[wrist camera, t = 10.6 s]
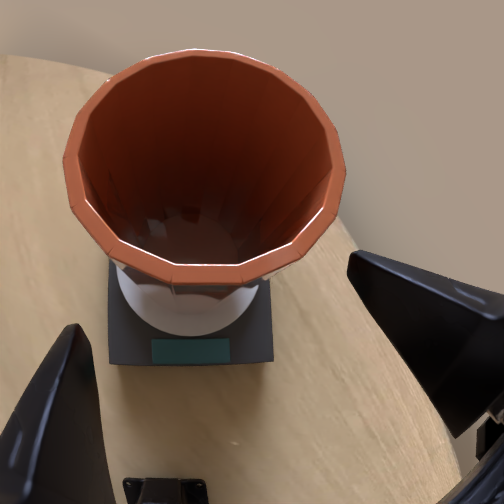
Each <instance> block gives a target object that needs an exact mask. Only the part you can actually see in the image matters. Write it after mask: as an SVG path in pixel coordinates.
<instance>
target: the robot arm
mask: <svg viewBox="0 0 504 504" xmlns="http://www.w3.org/2000/svg"><path fill="white" fill-rule="evenodd" d="M347 277H348V279H349V281H350V282H351V284H352V285H353V287H354V289H355V290H356V292H357V294H358V295H359V297H360V299H361V300H362V302H363V304H364V305H365V307H366V308H367V310H368V312H369V313H370V314H371V316H372V317H373V319H374V320H375V321H376V323H377V324H378V325H379V327H380V328H381V329H382V331H383V332H384V334H385V335H386V336H387V338H388V339H389V341H390V342H391V343H392V345H393V346H394V348H395V349H396V350H397V352H398V353H399V355H400V356H401V358H402V359H403V360H404V362H405V363H406V365H407V366H408V368H409V369H410V371H411V372H412V373H413V375H414V376H415V378H416V379H417V381H418V382H419V384H420V385H421V387H422V388H423V390H424V391H425V393H426V394H427V396H428V397H429V399H430V401H431V402H432V404H433V405H434V407H435V409H436V410H437V412H438V413H439V415H440V416H441V418H442V420H443V421H444V423H445V424H446V426H447V428H448V429H449V431H450V433H451V434H452V436H453V437H454V438H455V439H456V438H457V437H459V436H460V435H461V434H462V433H463V432H465V431H466V430H467V429H468V428H469V427H470V426H471V425H473V424H474V423H475V422H476V421H477V420H478V419H479V418H480V417H481V416H482V415H483V414H484V413H485V412H487V413H488V414H489V415H490V416H489V417H488V418H487V419H486V420H485V421H484V423H483V424H482V425H481V426H480V427H479V428H478V429H477V443H476V458H477V459H478V460H479V462H478V463H477V464H476V466H475V467H474V468H473V469H472V470H471V471H470V472H469V473H468V474H467V475H466V476H465V477H464V478H463V479H462V480H461V481H460V482H459V483H458V484H457V485H456V486H455V487H454V488H453V489H452V490H451V491H450V492H449V493H448V494H447V495H445V496H444V497H443V498H442V499H441V500H440V501H439V502H438V503H436V504H504V295H503V294H500V293H496V292H492V291H489V290H485V289H482V288H479V287H475V286H472V285H468V284H465V283H462V282H459V281H456V280H453V279H450V278H449V279H448V278H447V277H444V276H441V275H438V274H435V273H432V272H429V271H426V270H423V269H420V268H417V267H414V266H411V265H408V264H404V263H401V262H398V261H395V260H392V259H389V258H386V257H382V256H379V255H376V254H373V253H370V252H366V251H363V250H358V251H355V252H352V253H351V254H350V256H349V262H348V268H347ZM14 410H15V411H13V413H12V415H11V417H10V418H9V420H8V422H7V424H6V426H5V428H4V430H3V432H2V434H1V435H0V504H116V501H115V497H114V493H113V489H112V484H111V480H110V475H109V470H108V464H107V459H106V453H105V446H104V439H103V432H102V424H101V415H100V404H99V394H98V387H97V381H96V375H95V369H94V362H93V355H92V348H91V344H90V342H89V340H88V338H87V337H86V335H85V333H84V331H83V329H82V328H81V326H80V325H79V324H77V323H75V324H71V325H67V326H66V327H65V328H64V329H63V331H62V332H61V334H60V335H59V337H58V338H57V340H56V341H55V343H54V344H53V346H52V347H51V349H50V350H49V352H48V353H47V355H46V357H45V358H44V360H43V361H42V363H41V364H40V366H39V368H38V369H37V371H36V373H35V374H34V376H33V377H32V379H31V381H30V383H29V384H28V386H27V388H26V389H25V391H24V393H23V395H22V396H21V398H20V400H19V402H18V404H17V405H16V407H15V409H14ZM126 482H129V483H131V484H132V485H129V484H127V483H126ZM197 484H202V486H197ZM123 488H124V492H125V495H126V499H127V503H128V504H209V502H208V495H207V488H206V483H205V481H204V480H201V479H186V480H179V479H177V478H145V479H140V478H125V479H124V480H123Z"/></svg>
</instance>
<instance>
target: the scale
mask: <svg viewBox="0 0 504 504" xmlns="http://www.w3.org/2000/svg"><path fill="white" fill-rule="evenodd" d="M108 346H109V364H114V365H135V366H212V365H233V364H249V363H261V362H273V361H274V354H273V335H272V316H271V298H270V281H269V279H267V280H265V281H264V282H262V283H260V284H259V285H257V286H255V287H254V288H252V289H250V290H249V291H247V292H245V293H243V294H242V295H240V296H238V297H237V298H235V299H233V300H231V301H230V302H228V303H226V304H224V305H223V306H221V307H218V308H216V309H214V310H212V311H209V312H207V313H204V314H201V315H180V314H177V313H174V312H171V311H169V310H167V309H165V308H163V307H160V306H159V305H157V304H156V303H155V302H154V301H153V300H152V299H151V298H150V297H149V296H148V295H147V294H145V293H144V292H143V291H142V290H141V289H140V288H139V287H138V286H137V285H136V284H135V283H134V282H133V281H132V280H131V279H130V278H129V277H128V276H127V275H126V274H125V273H124V272H123V271H122V270H121V269H120V268H119V267H118V266H117V265H116V264H115V263H114V262H113V261H112V260H111V259H109V278H108Z"/></svg>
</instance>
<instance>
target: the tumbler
mask: <svg viewBox="0 0 504 504" xmlns="http://www.w3.org/2000/svg"><path fill="white" fill-rule="evenodd" d="M62 162H63V169H64V175H65V182H66V188H67V193H68V199H69V204H70V208H71V210H72V212H73V214H74V215H75V216H76V218H77V219H78V220H79V222H80V223H81V224H82V225H83V227H84V228H85V229H86V231H87V232H88V233H89V234H90V236H91V237H92V238H93V239H94V240H95V242H96V243H97V244H98V245H99V247H100V248H101V249H102V250H103V251H104V253H105V254H106V255H107V256H108V257H109V258H110V259H111V260H112V261H113V262H114V263H115V264H116V265H117V266H118V267H119V268H120V269H121V270H122V271H123V272H124V273H125V274H126V275H127V276H128V277H129V278H130V279H131V280H132V281H133V282H134V283H135V284H136V285H137V286H138V287H139V288H140V289H141V290H142V291H143V292H144V293H145V294H147V295H148V296H149V297H150V298H151V299H152V300H153V301H154V302H155V303H156V304H157V305H159V306H160V307H163V308H165V309H167V310H169V311H171V312H174V313H177V314H180V315H201V314H204V313H207V312H209V311H212V310H214V309H216V308H218V307H221V306H223V305H224V304H226V303H228V302H230V301H231V300H233V299H235V298H237V297H238V296H240V295H242V294H243V293H245V292H247V291H249V290H250V289H252V288H254V287H255V286H257V285H259V284H260V283H262V282H264V281H265V280H267V279H269V278H271V277H272V276H274V275H276V274H277V273H279V272H281V271H282V270H284V269H286V268H287V267H289V266H291V265H292V264H294V263H296V262H297V261H299V260H300V259H301V258H303V257H304V256H305V255H306V254H307V252H308V251H309V250H310V249H311V248H312V247H313V245H314V244H315V243H316V242H317V241H318V239H319V238H320V237H321V236H322V235H323V233H324V232H325V231H326V230H327V229H328V227H329V226H330V225H331V224H332V223H333V221H334V220H335V218H336V216H337V213H338V209H339V204H340V200H341V195H342V191H343V187H344V181H345V177H346V167H345V162H344V158H343V154H342V149H341V145H340V140H339V136H338V132H337V130H336V128H335V126H334V125H333V123H332V122H331V120H330V119H329V117H328V116H327V114H326V113H325V112H324V110H323V109H322V107H321V106H320V104H319V103H318V101H317V100H316V99H315V97H314V96H313V95H312V94H311V93H310V92H309V91H307V90H306V89H304V87H302V86H301V85H300V84H298V83H297V82H296V81H294V80H293V79H291V78H290V77H289V76H288V75H286V74H285V73H283V72H282V71H281V70H279V69H277V68H276V67H273V66H271V65H268V64H266V63H263V62H261V61H258V60H255V59H252V58H250V57H247V56H244V55H241V54H238V53H234V52H225V51H214V50H200V49H192V50H191V49H188V50H182V51H177V52H172V53H167V54H162V55H157V56H153V57H149V58H146V59H144V60H142V61H140V62H138V63H136V64H134V65H132V66H130V67H129V68H127V69H125V70H123V71H121V72H120V73H118V74H116V75H114V76H113V77H111V78H109V79H108V80H107V81H105V83H104V84H103V85H102V86H101V87H100V88H99V89H98V90H97V91H96V92H95V93H94V95H93V96H92V97H91V98H90V99H89V100H88V101H87V103H86V104H85V105H84V106H83V107H82V108H81V110H80V111H79V112H78V114H77V115H76V118H75V121H74V123H73V126H72V129H71V132H70V135H69V138H68V141H67V145H66V148H65V151H64V155H63V161H62Z"/></svg>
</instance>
